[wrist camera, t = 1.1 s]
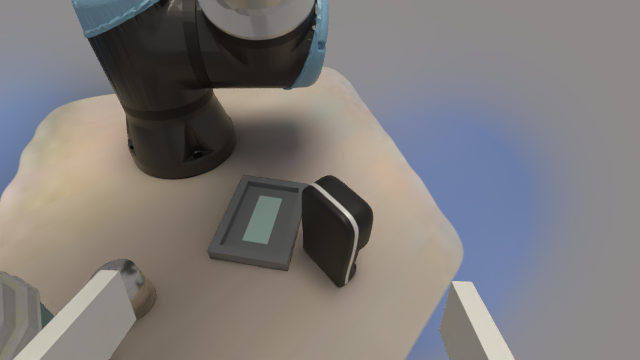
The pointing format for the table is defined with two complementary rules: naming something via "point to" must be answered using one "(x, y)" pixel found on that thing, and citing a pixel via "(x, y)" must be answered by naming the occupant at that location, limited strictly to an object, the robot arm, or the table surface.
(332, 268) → the battery charger
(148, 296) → the short grey cell
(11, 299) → the disposable coffee cup
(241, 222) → the dock
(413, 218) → the table surface
